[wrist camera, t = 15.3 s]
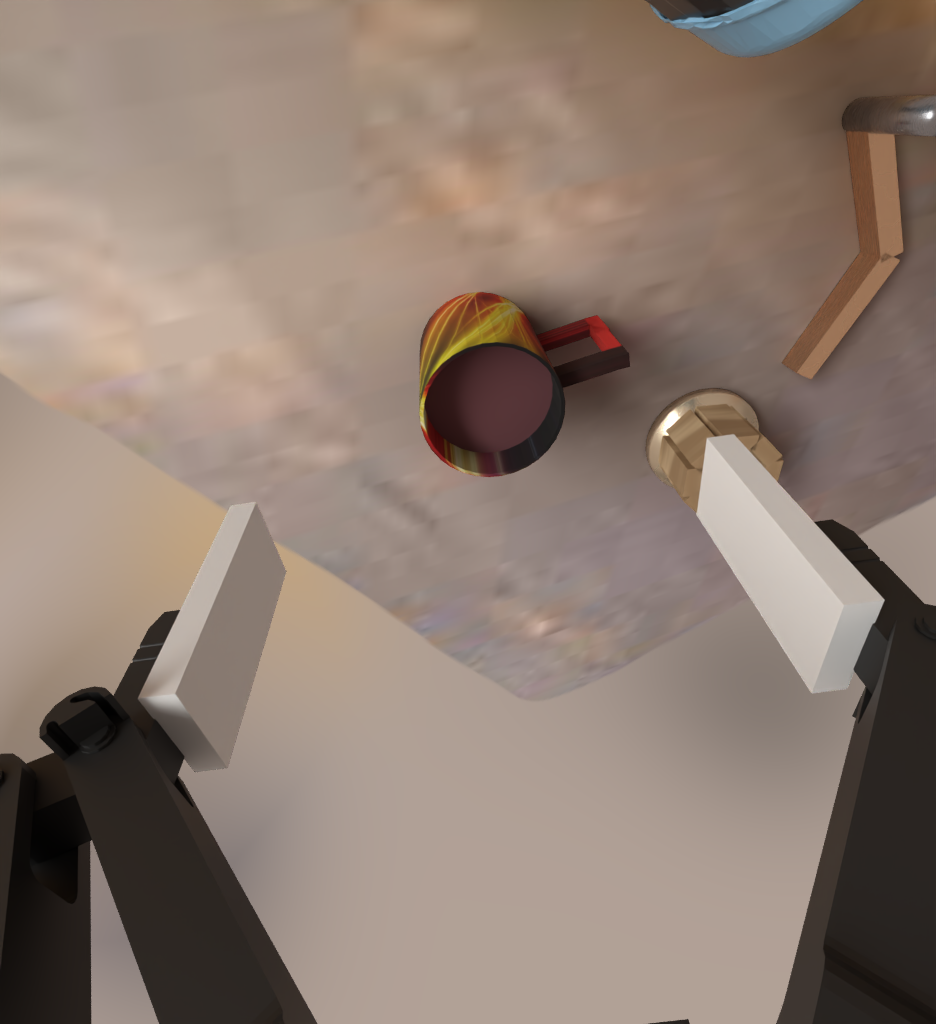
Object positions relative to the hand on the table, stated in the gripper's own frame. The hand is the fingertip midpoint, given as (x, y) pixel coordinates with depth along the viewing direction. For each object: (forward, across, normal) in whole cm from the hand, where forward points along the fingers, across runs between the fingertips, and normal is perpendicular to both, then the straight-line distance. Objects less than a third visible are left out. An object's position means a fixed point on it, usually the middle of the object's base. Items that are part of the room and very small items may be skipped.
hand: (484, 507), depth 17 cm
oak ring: (+31, +21, -19) cm, 42 cm away
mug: (+33, +3, -6) cm, 33 cm away
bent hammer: (+33, +31, -4) cm, 45 cm away
